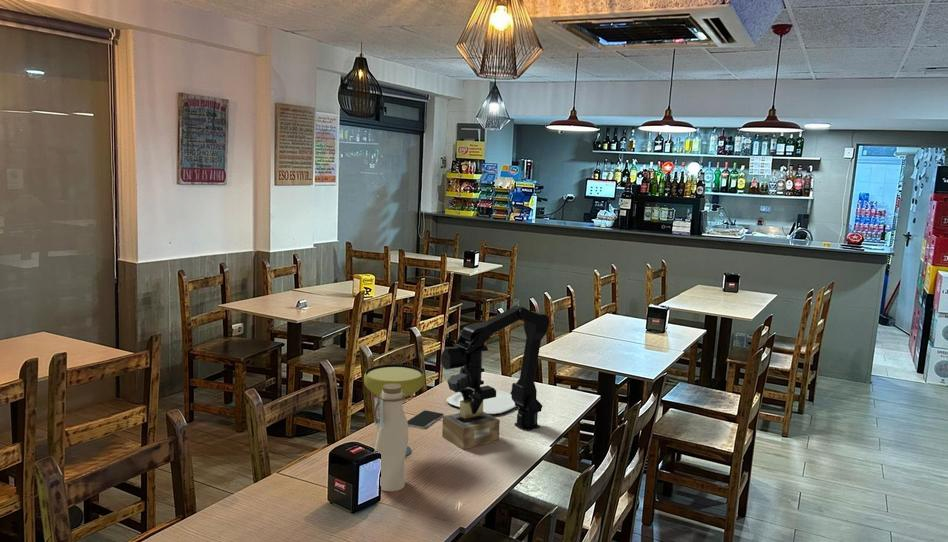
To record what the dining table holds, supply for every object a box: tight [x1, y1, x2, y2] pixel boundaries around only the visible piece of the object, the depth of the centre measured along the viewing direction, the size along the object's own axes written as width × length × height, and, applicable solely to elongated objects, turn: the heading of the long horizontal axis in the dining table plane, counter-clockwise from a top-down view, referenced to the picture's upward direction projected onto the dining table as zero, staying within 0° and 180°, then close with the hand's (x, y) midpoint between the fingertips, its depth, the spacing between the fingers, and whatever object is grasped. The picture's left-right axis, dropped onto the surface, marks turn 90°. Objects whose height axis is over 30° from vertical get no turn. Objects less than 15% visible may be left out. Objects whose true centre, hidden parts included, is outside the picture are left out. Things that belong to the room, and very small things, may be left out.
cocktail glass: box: [363, 363, 425, 457], centre depth 205 cm, size 18×18×25 cm
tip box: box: [441, 412, 501, 450], centre depth 218 cm, size 14×12×7 cm
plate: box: [445, 388, 517, 415], centre depth 254 cm, size 25×25×2 cm
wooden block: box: [459, 399, 483, 419], centre depth 217 cm, size 7×3×5 cm, turn 125°
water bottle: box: [373, 384, 409, 492], centre depth 182 cm, size 10×9×28 cm
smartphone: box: [407, 409, 445, 430], centre depth 234 cm, size 8×1×15 cm
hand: (471, 412), depth 217 cm, fingers closed on wooden block, 3 cm apart
